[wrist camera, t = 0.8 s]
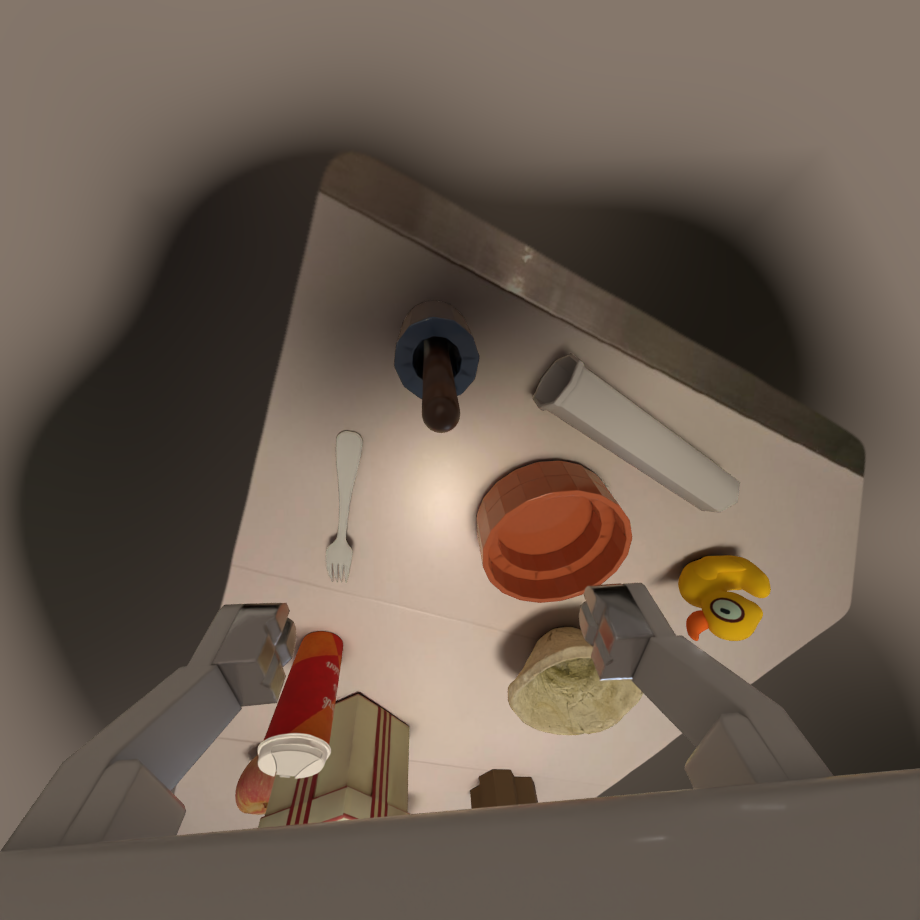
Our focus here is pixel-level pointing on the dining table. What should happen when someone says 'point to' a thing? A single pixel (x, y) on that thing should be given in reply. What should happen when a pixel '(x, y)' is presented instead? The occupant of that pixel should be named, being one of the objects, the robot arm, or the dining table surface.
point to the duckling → (723, 596)
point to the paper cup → (304, 711)
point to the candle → (502, 790)
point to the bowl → (568, 688)
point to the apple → (254, 789)
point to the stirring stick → (438, 387)
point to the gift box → (349, 772)
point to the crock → (438, 323)
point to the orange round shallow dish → (551, 532)
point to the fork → (344, 501)
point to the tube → (633, 435)
